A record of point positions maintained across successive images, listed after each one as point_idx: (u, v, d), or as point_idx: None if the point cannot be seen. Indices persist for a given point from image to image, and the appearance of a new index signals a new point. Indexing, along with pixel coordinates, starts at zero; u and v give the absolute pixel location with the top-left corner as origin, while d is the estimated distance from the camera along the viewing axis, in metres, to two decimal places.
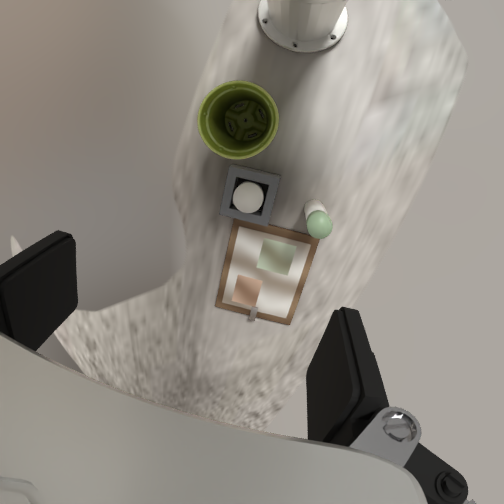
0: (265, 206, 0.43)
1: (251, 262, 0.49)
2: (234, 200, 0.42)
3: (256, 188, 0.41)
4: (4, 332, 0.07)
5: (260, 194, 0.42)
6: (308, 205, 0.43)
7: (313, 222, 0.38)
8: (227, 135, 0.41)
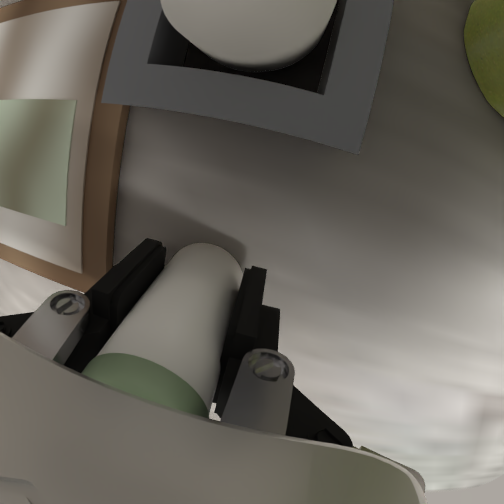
0: (199, 77, 0.07)
1: (10, 79, 0.09)
2: None
3: (314, 19, 0.05)
4: None
5: (276, 39, 0.05)
6: (220, 284, 0.10)
7: None
8: None
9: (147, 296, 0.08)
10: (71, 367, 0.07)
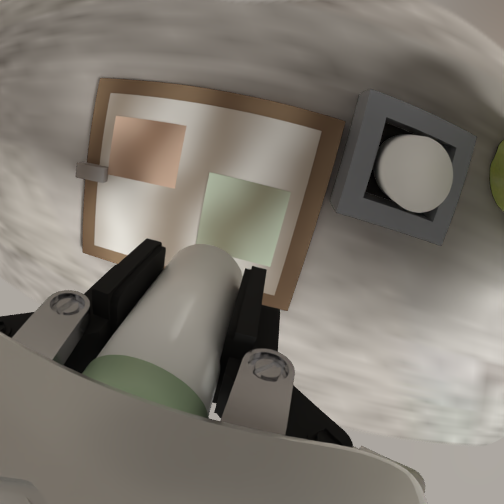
0: (386, 210, 0.16)
1: (222, 159, 0.18)
2: (418, 139, 0.13)
3: (441, 199, 0.14)
4: None
5: (427, 207, 0.15)
6: (219, 285, 0.10)
7: None
8: None
9: (147, 297, 0.08)
10: (71, 367, 0.07)
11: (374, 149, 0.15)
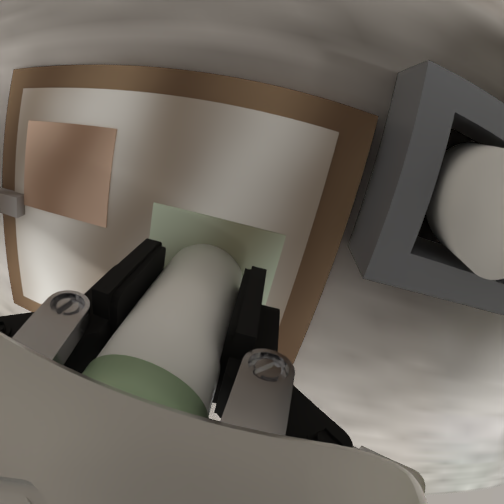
0: (444, 271, 0.09)
1: (172, 181, 0.11)
2: None
3: None
4: None
5: None
6: (219, 285, 0.10)
7: None
8: None
9: (147, 297, 0.08)
10: (71, 367, 0.07)
11: (434, 169, 0.08)
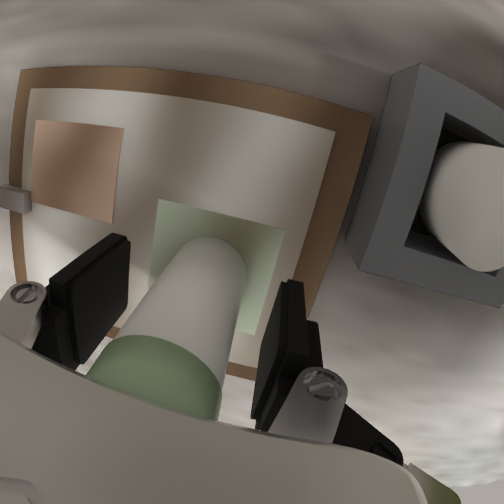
0: (437, 263, 0.10)
1: (177, 179, 0.12)
2: (498, 153, 0.07)
3: None
4: (67, 335, 0.08)
5: (499, 263, 0.08)
6: (226, 274, 0.10)
7: None
8: None
9: (158, 285, 0.09)
10: None
11: (426, 166, 0.08)
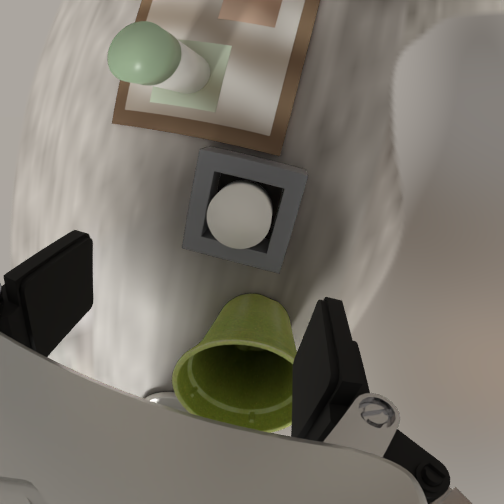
0: (206, 193, 0.20)
1: (243, 55, 0.18)
2: (267, 215, 0.19)
3: (220, 239, 0.20)
4: (23, 331, 0.07)
5: (211, 227, 0.20)
6: (194, 83, 0.17)
7: (151, 57, 0.12)
8: None
9: (192, 52, 0.15)
10: None
11: (255, 178, 0.20)
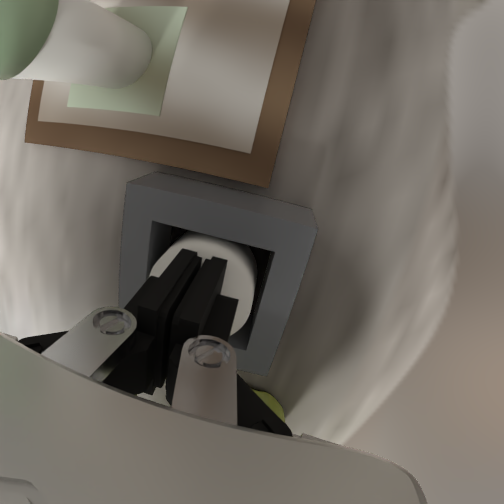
0: (142, 256, 0.12)
1: (205, 20, 0.10)
2: (246, 293, 0.11)
3: None
4: (152, 361, 0.08)
5: None
6: (115, 67, 0.09)
7: None
8: None
9: (103, 13, 0.07)
10: (108, 386, 0.07)
11: (223, 233, 0.11)
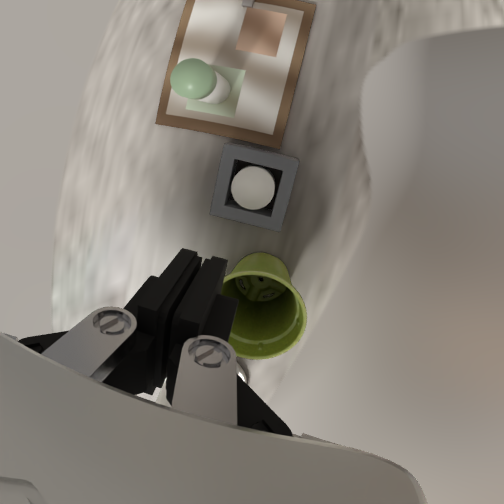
0: (228, 174, 0.29)
1: (253, 77, 0.27)
2: (272, 185, 0.29)
3: (240, 203, 0.30)
4: (152, 361, 0.08)
5: (234, 194, 0.29)
6: (221, 97, 0.26)
7: (201, 83, 0.20)
8: (283, 267, 0.33)
9: (221, 77, 0.24)
10: (108, 386, 0.07)
11: (263, 163, 0.28)
